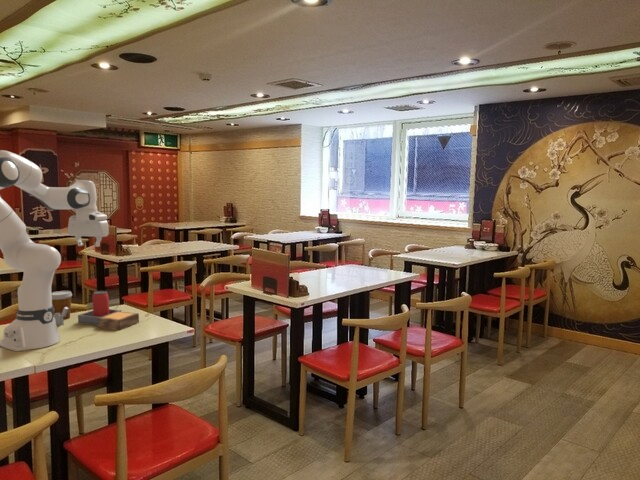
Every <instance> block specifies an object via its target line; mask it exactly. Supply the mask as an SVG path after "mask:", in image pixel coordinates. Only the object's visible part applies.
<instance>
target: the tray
mask: <svg viewBox="0 0 640 480" xmlns="http://www.w3.org/2000/svg"><path fill="white" fill-rule="evenodd" d="M117 311H118V312H122V309H121V310H120V309H111V308H109V314H111V313H114V312H117ZM109 314H108V315H109ZM105 316H106V315H105ZM102 317H103V316H102ZM98 318H100V317H96V316H93V309H92V310H89V311H87V312H84V313H80V314H78V315H77V321H78V324H85V325H92V326H93V325H94V326H98Z"/></svg>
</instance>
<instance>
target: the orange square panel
mask: <svg viewBox="0 0 640 480" xmlns="http://www.w3.org/2000/svg"><path fill="white" fill-rule="evenodd" d="M121 312H122V311H121ZM121 312H117V313H114V314H111V315H108V316H105V317H103V318H108V319H118V320H120V319H123V318H126V317H128V316H131V315H134V314H131V313H132V312H128V313H121Z"/></svg>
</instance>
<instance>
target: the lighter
mask: <svg viewBox="0 0 640 480" xmlns="http://www.w3.org/2000/svg"><path fill="white" fill-rule="evenodd" d="M68 310H69V308H67V307H65V308H64V309H63V311H62V314H61V315H60V313H55V315H53V317H54V318H55V321H56V326H59V327H60V326H64V320H63V317H65V316H66V315H67V312H68Z"/></svg>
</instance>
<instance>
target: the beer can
mask: <svg viewBox="0 0 640 480" xmlns="http://www.w3.org/2000/svg"><path fill="white" fill-rule="evenodd" d="M92 294H93V295H92V298H91V299H92V310H93V316H96V317H102V316H105V315H108V314H109V309H110V301H109V294H108V291H107V290H97V291H94V292H93V293H92Z"/></svg>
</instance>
